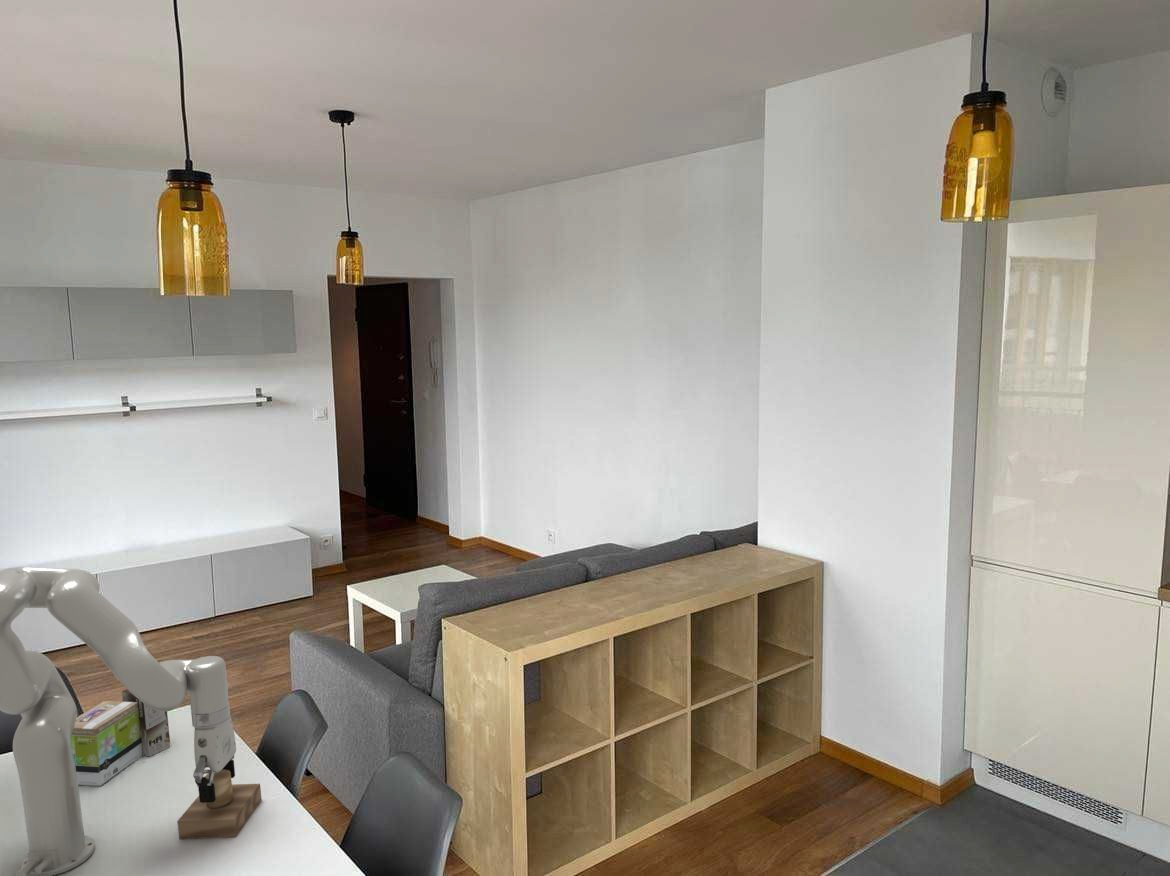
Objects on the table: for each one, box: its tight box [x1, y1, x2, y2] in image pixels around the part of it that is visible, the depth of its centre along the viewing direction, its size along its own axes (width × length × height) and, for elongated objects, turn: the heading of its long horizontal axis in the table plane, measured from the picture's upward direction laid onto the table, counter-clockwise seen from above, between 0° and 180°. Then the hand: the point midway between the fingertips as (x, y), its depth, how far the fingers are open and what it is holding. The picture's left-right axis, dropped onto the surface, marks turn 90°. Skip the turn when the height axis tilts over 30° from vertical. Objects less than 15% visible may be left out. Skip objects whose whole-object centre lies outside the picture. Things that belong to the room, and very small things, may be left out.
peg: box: [204, 770, 233, 809], centre depth 183 cm, size 5×5×10 cm
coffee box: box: [121, 688, 171, 757], centre depth 217 cm, size 9×6×16 cm
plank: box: [176, 783, 263, 840], centre depth 184 cm, size 14×12×4 cm
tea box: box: [71, 700, 143, 787], centre depth 206 cm, size 15×10×15 cm
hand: (218, 789), depth 183 cm, fingers open, 9 cm apart
